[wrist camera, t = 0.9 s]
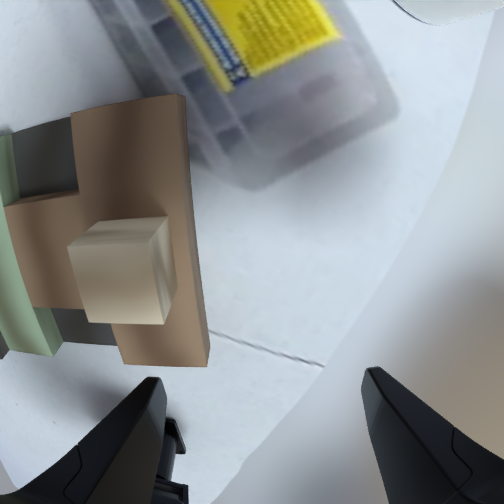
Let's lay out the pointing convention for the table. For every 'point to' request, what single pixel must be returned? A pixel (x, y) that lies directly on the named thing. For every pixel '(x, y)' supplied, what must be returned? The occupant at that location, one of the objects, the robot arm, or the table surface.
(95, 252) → the maple block
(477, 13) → the can
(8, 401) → the table surface
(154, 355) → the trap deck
